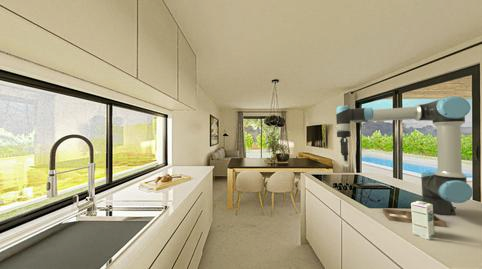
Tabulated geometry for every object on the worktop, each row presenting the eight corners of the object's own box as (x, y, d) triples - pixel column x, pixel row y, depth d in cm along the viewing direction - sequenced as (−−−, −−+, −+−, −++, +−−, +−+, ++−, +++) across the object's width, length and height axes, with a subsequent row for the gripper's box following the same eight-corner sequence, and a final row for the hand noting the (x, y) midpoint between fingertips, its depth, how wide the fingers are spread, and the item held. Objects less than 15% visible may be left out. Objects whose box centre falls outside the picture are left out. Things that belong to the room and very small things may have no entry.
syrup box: (429, 240, 82) (427, 206, 82) (412, 234, 87) (410, 202, 88) (435, 237, 85) (433, 203, 85) (417, 231, 90) (416, 200, 90)
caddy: (432, 219, 103) (431, 213, 103) (445, 228, 92) (444, 222, 92) (382, 213, 112) (382, 208, 112) (389, 221, 101) (388, 216, 101)
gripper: (335, 131, 133) (336, 162, 133) (338, 130, 110) (339, 167, 110) (348, 131, 130) (349, 162, 130) (353, 129, 107) (354, 168, 107)
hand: (344, 165), depth 120 cm, fingers open, 13 cm apart
